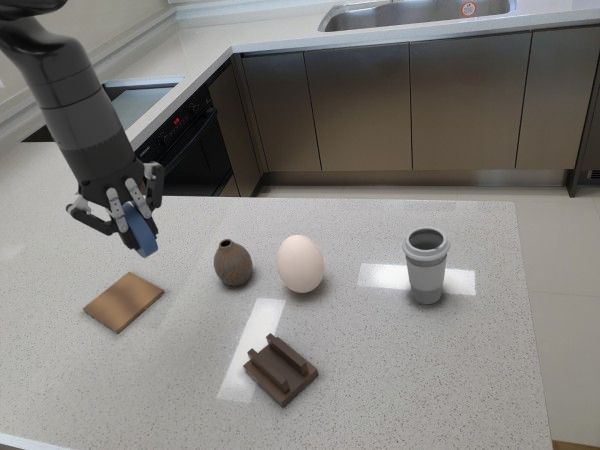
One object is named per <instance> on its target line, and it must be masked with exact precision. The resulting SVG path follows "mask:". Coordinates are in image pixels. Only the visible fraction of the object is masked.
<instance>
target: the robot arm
mask: <svg viewBox="0 0 600 450" xmlns="http://www.w3.org/2000/svg"><path fill="white" fill-rule="evenodd" d="M68 1H69V0H0V52H1V53H2V54H3V55H4V56H5V57H6V58H7V60H9V61H10V62H11V63H12V65H13V66H14V67H15V68H16V69H17V70H18V71H19V73H20V75H21V77H22V79H23V81H24V82H25V84H26V86H27V88H28V90H29V91H30V93H31V95H32V96H33V97H32V98H34V101H35V102H36V103H37V106H38V108H39V110H40V112H41V115H42V117H43V120H44V123H45V125H46V127H47V129H48V131H49V134H50V136H51V138H52V140H53V142H54V143H55V144H56V145H57V147H58V149H59V151H60V152H61V154H62V156H63V158H64V160H65V161H66V163H67V165H68V167H69V169H70V171H71V172H72V174H73V176H74V177H75V180H76V182H77V192H78V194H79V195H78V197H77V198H76V199H75V200H74V202H73V203H69V204H66V206H65V211H66V212H67V214H69V215H70V216H71V217H72V218H73V219H74V220H76V221H78V222H80V223H82V224H83V225H85V226H87V227H89V228H91V229H93V230H94V231H97V232H99V233H100V234H103V235H105V236H106V237H107V236H108V237H110V236H113V235H114V234H116V233H117V234H118V236H119V237H120V240H121V241H122V243H123V244H124V246H125V247H127V249H129V250H130V251H131V250H134V251H135V252H136V251H138V250H139V249H141V248H140V246H139V244H138V242H137V240H136V238H135V236H134V234H133V232H132V230H131V229H130V228H129V227H128V224H127V222H126V219H125V217H124V216H125V214H124V211H123V209H122V206H123V205H124V204H125V203H126V202H127V203H130V204H131V205H132V206H133V207H134V208H135V209H136V210H137V211H138V212H139V214H140V215H141V216H142V218H143V219H144V220H145V222H146V223H147V225H148V226H149V228H150V230H151V232H152V233H153V235H154V237H155V239H156V240H157V239H158V237H157V235H159V228H158V227H157V224H156V222H155V220H154V217H153V212H154V211H155V210H156V209H159V208H161V207H162V204H163V193H164V184H165V176H166V168H165V167H164V166H163V165H162V164H160V163H158V162H156V161H154V160H152V161H150V162H149V163H145V162H143V161H142V160H140V159H139V158H138V157H137V155H136V153H135V151H134V149H133V146H132V144H131V142H130V140H129V138H128V135H127V133H126V131H125V129H124V127H123V124H122V123H121V120H120V117H119V115H118V113H117V111H116V109H115V106H114V105H113V103H112V100H111V98H110V97H109V95H108V94H107V92H106V91H105V89H104V87H103V85H102V83H101V81H100V78H99V76H98V74H97V72H96V70H95V69H96V68H95V67H94V65H93V62H92V61H91V59H90V57H89V54H88V52H87V50H86V47H84V45H83V43H82V42H81V41H80V40H79V39H77V38H76V37H74V36H71V35H68V34H60V33H57V32H53V31H50V30H48V29H47V28H46V27H45V26H44V25H43V24H42V23H41V22H40V21H39V20H38V18H37V16H44V15H48V14H53V13H55V12H57V11H59V10H61V9H62V8H63V7H64V6H65V5H67V3H68ZM144 177H145V178H146V187H145V197H144V195H143V193H142V192H141V189H142V184H143V179H144ZM89 202H90V203H93V204H95V205H97V206H99V207H102V208H104V209H105V211H106V213H107V215H108V217H109V219H110V220H104V219H102V218H100V217H98V216H97V215H94V214H93V213H92V207H90V206H89V205H88V204H89Z"/></svg>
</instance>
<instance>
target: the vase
mask: <svg viewBox="0 0 600 450" xmlns="http://www.w3.org/2000/svg"><path fill="white" fill-rule="evenodd" d="M213 268H214V272H215V274H216V276H217V278H218V279H219V280H220V281H221V282H222V283H223V284H225V285H228V286H232V287H236V286H240V285H241V286H242V285H243V284H245V283H246V282H248V280H249V279H250V277H251V276H252V273H253V259H252V257H251V254H250V252H249V251H248V250H247V249H246V247H244V246H243V245H241V244H240V243H237V242H234V241H233V240H232V239H231V238H225V239H222V240H221V241H220V242H219V244H218V248H217V249H216V251H215V253H214V256H213Z"/></svg>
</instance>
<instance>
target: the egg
mask: <svg viewBox="0 0 600 450" xmlns="http://www.w3.org/2000/svg"><path fill="white" fill-rule="evenodd" d="M276 268H277V273H278V276H279V278H280V280H281V281H282V283H283V284H284V285H285V286H286V287H287V288H288V289H289V290H291V291H293V292H295V293H299V294H304V293H306V294H307V293H309V292H312V291H313V290H315V289H317V287H318V286H319V285H320V284H321V282H322V280H323V278H324V274H325V261H324V256H323V254H322V252H321V249H320V248H319V247H318V245H316V243H315V242H314V241H313V240H312V239H310V237H307V236H305V235H302V234H293V235H290V236H288V237H286V239H284V240H283V241H282V243H281V245H280V247H279V249H278V252H277V257H276Z"/></svg>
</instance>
